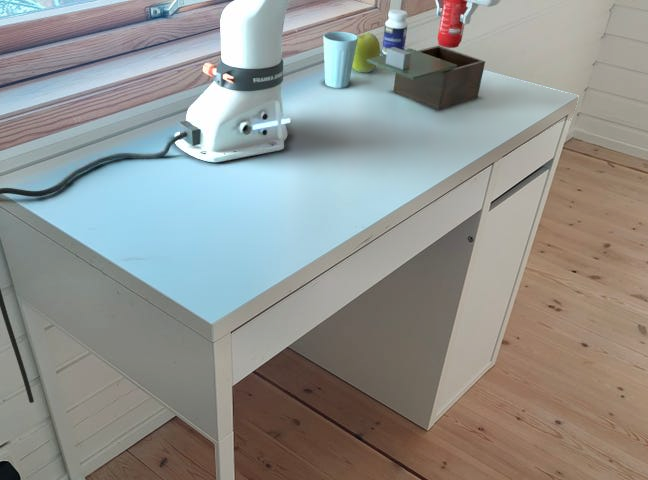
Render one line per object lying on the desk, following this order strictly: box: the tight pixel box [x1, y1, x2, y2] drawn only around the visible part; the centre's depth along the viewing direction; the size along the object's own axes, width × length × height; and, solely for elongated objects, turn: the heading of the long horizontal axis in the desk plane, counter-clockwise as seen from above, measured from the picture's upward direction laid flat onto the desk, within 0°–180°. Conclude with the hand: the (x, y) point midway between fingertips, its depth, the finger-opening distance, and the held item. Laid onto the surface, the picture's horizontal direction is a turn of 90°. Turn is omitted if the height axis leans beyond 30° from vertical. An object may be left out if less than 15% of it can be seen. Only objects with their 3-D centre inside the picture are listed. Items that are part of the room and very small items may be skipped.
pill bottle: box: [381, 9, 408, 55], centre depth 175 cm, size 6×6×10 cm
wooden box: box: [392, 45, 486, 111], centre depth 153 cm, size 14×14×8 cm
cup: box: [323, 31, 358, 89], centre depth 155 cm, size 8×8×10 cm
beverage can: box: [437, 0, 468, 49], centre depth 146 cm, size 5×5×12 cm
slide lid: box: [367, 47, 457, 80], centre depth 144 cm, size 14×14×4 cm
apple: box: [352, 28, 381, 74], centre depth 164 cm, size 8×8×10 cm
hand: (452, 19), depth 147 cm, fingers closed on beverage can, 5 cm apart
